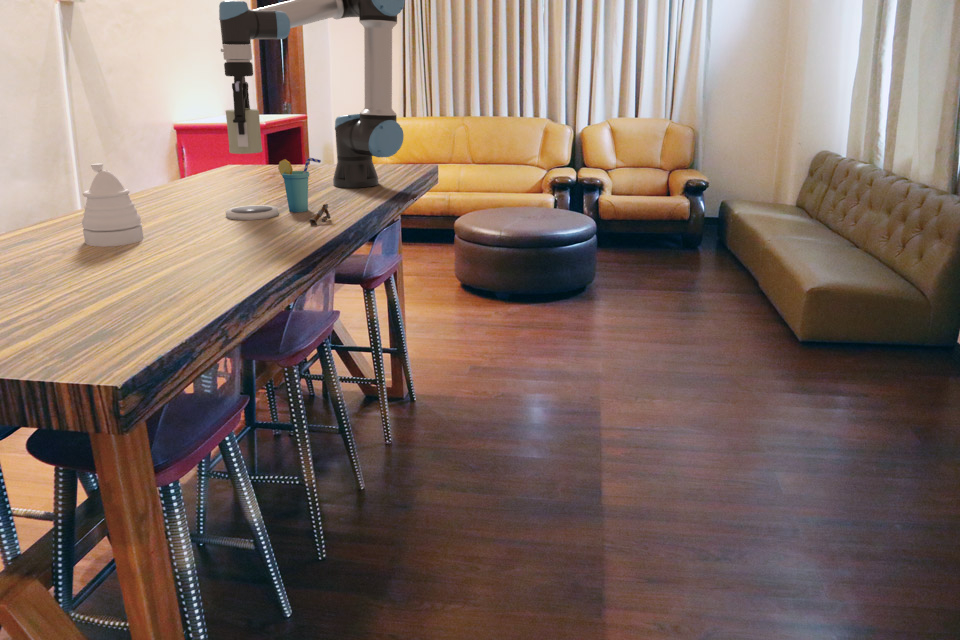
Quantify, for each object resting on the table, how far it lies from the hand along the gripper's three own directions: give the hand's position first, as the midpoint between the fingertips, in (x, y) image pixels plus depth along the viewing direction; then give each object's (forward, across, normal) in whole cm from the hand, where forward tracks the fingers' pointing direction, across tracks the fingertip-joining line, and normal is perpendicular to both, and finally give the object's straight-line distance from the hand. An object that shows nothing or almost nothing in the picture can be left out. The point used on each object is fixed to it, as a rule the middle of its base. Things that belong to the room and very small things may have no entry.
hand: (245, 144), depth 229 cm
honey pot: (+18, +40, -27) cm, 52 cm away
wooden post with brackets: (+18, +26, +21) cm, 38 cm away
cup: (+18, +9, +15) cm, 25 cm away
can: (+2, 0, 0) cm, 2 cm away
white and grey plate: (+18, +13, +2) cm, 22 cm away
